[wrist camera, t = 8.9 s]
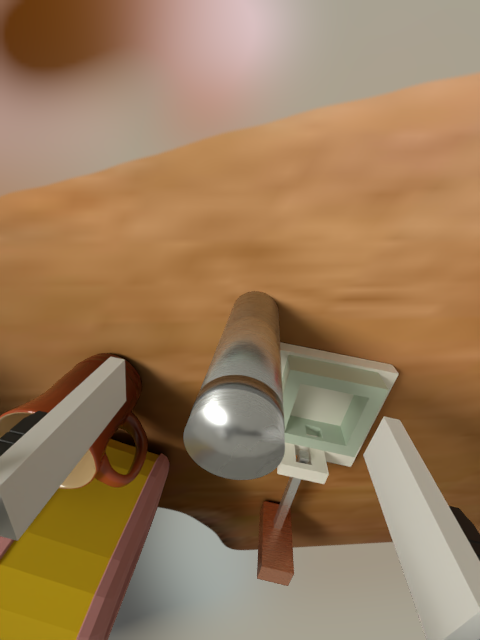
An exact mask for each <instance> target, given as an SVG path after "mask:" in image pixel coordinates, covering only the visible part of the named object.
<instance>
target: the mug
mask: <svg viewBox="0 0 480 640" xmlns="http://www.w3.org/2000/svg"><path fill="white" fill-rule="evenodd" d="M110 357H115V358H120V359H123V358H121V357H119V356H117V355H113V354H108V353H101V354H96V355H93V356H91V357H89V358H87V359H85V360H84V361H82V362H80V363H78V364H77V365H76V366H75V367H74V368H73V369H72V370H70V371H69V372H68V373H67V374H65V375H64V376H63V377H62V378H61V379H60V380H59V381H57V382H56V383H55V384H54V385H53V386H52V387H51V388H50V389H48V390H47V391H46V392H45V393H43V394H42V395H40V396H39V397H37V398H35V399H33V400H32V401H30V402H27V403H25V404H23V405H21V406H18V407H16V408H14V409H12V410H9V411H7V412H5V413H3V414H2V415H0V438H1V437H2V436H3V435H4V434H5V433H7V432H9V431H10V429H11V428H13V427H14V426H15V425H16V424H17V423H19V422H20V421H21V420H22V419H24V418H25V417H27V416H29V415H31V414H33V413H35V412H37V411H43V412H47V413H49V412H50V411H51V410H52V409H53V408H54V407H55V406H57V405H58V404H59V403H60V402H61V401H62V400H63V399H64V398H65V397H66V396H68V395H69V394H70V393H71V392H72V391H73V390H74V389H75V388H76V387H78V386H79V385H80V384H81V383H82V382H83V381H84V380H85V379H86V378H87V377H89V376H90V375H91V374H92V373H93V372H94V371H95V370H96V369H97V368H98V367H100V366H101V365H102V364H103V363H104V362H105V361H106V360H107V359H108V358H110ZM124 360H125V359H124ZM125 380H126V402H125V403H124V404H123V405H122V407H121V408H120V409H119V411H118V412H117V413H116V415H115V416H114V417H113V418H112V420H111V421H110V422H109V424H108V425H107V426H106V427H105V429H104V430H103V431H102V433H101V434H100V435H99V436H98V438H97V439H96V440H95V442H94V443H93V444H92V446H91V447H90V448H89V449H88V451H87V452H86V453H85V455H84V456H83V457H82V458H81V460H80V461H79V462H78V464H77V465H76V466H75V467H74V469H73V470H72V471H71V473H70V474H69V475H68V476H67V478H66V479H65V480H64V482H63V483H62V484H61V486H60V487H59V488H61V489H77V488H81V487H84V486H86V485H87V484H89V483H90V482H92V481H93V479H94V478H95V479H97V480H98V481H100V482H102V483H104V484H106V485H108V486H110V487H114V488H120V487H124V486H126V485H128V484H129V483H131V482H132V481H133V480H134V479H135V478H136V477H137V475H138V474H139V472H140V470H141V468H142V466H143V464H144V461H145V459H146V455H147V446H148V444H147V436H146V433H145V431H144V429H143V427H142V425H141V423H140V421H139V420H138V418H137V417H136V416H135V415H134V414H133V413H132V410H133V408H134V407H135V405H136V403H137V401H138V399H139V397H140V393H141V391H142V382H141V378H140V376H139V374H138V372H137V370H136V369H135V368H134V367H133V366H132V365H131V364H130V363H129V362H128V361H126V360H125ZM118 428H121V429H124V430H126V431H127V432H128V433H130V435H131V436H132V437H133V439H134V441H135V446H136V450H135V456H134V459H133V462H132V464H131V467H130V469H129V471H128V473H127V474H126V475H123V474H120V473H118V472H116V471H115V470H114V469H113V468H112V466H111V465H110V462H109V459H108V457H107V455H106V448H107V445H108V443H109V441H110V439H111V437H112V436H113V435H114V433H115V432H116V431H117V430H118Z"/></svg>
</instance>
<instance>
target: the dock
mask: <svg viewBox="0 0 480 640" xmlns="http://www.w3.org/2000/svg"><path fill="white" fill-rule="evenodd" d="M280 350H281V371H282V392H283V409H284V426H285V431H284V435H285V453H284V457H283V459H282V461H281V463H280V464H279V465H278V466H277V474H281V475H285V476H290V477H294V478H299V479H303V480H308V481H312V482H316V483H321V484H324V483H325V481H326V479H327V477H328V475H329V473H328V468H327V463H326V462H331V463H335V464H340V465H344V466H349V467H351V466H352V464H353V462H354V460H355V458H356V456H357V454H358V452H359V450H360V448H361V446H362V445H363V443H364V441H365V439H366V437H367V435H368V433H369V431H370V429H371V427H372V425H373V423H374V421H375V419H376V417H377V415H378V413H379V412H380V410H381V408H382V406H383V404H384V402H385V400H386V398H387V396H388V394H389V392H390V390H391V388H392V386H393V384H394V382H395V380H396V378H397V377H398V375H399V373H398V372H397V371H396V369H395V368H394V367H393V365H391V364H386V363H381V362H376V361H371V360H366V359H361V358H356V357H351V356H346V355H341V354H336V353H332V352H327V351H322V350H317V349H312V348H307V347H302V346H297V345H292V344H287V343H282V342H280ZM300 450H302V451H306V452H308V454H309V462H308V464H304V463H299V462H296V456H295V455H298V454H299V451H300Z"/></svg>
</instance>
